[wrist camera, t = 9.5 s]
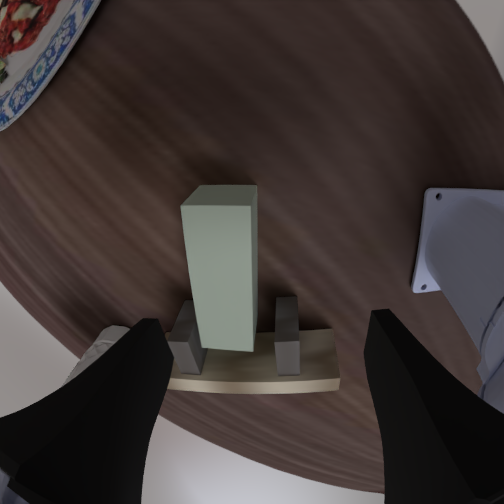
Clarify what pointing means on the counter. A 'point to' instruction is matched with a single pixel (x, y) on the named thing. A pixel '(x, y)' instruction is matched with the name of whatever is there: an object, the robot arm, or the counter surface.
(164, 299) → the counter surface
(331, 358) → the wooden base
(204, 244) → the block
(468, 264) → the robot arm
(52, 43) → the ceramic plate
